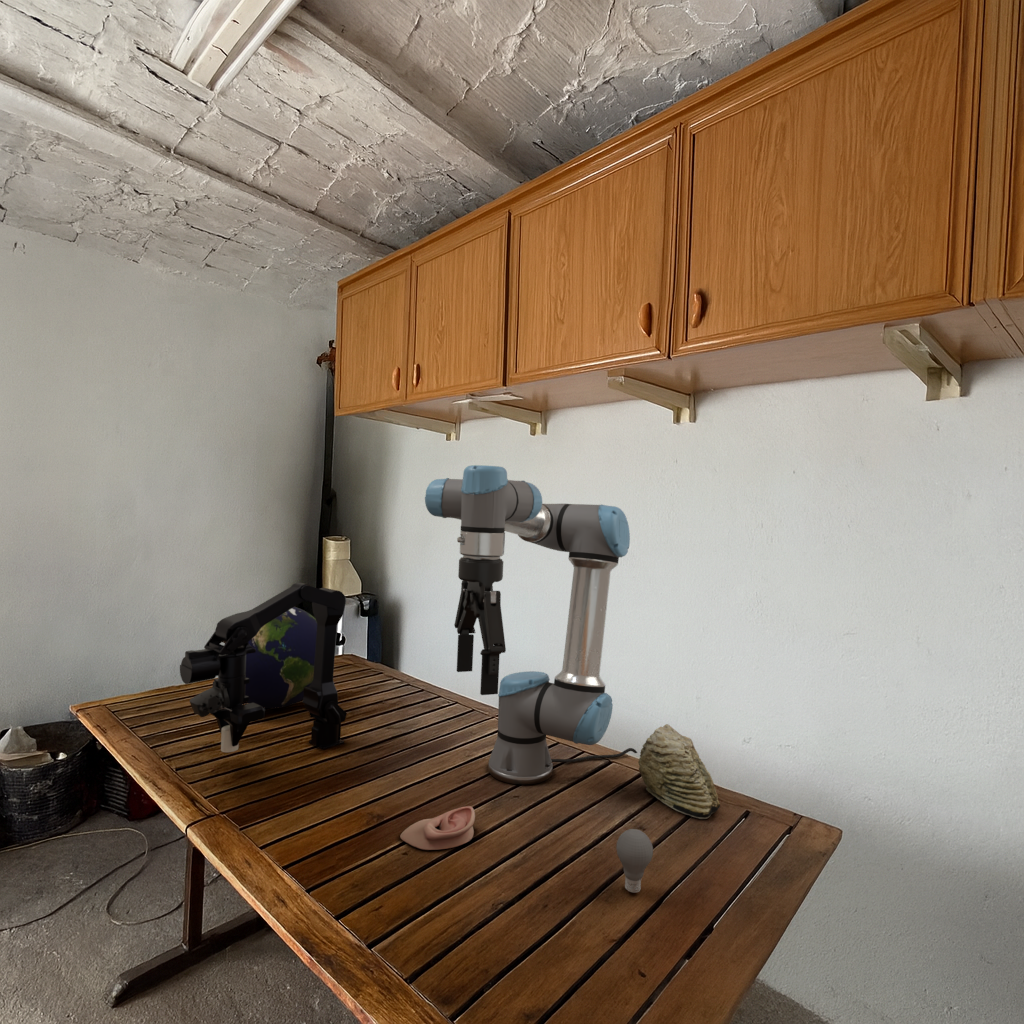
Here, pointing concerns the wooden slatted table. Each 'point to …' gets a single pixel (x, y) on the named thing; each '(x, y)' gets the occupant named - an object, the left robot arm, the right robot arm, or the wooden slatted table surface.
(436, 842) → the anatomical model
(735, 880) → the wooden slatted table surface
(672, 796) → the fossil
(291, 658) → the globe
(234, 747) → the cylinder
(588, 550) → the right robot arm
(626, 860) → the light bulb
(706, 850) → the wooden slatted table surface
